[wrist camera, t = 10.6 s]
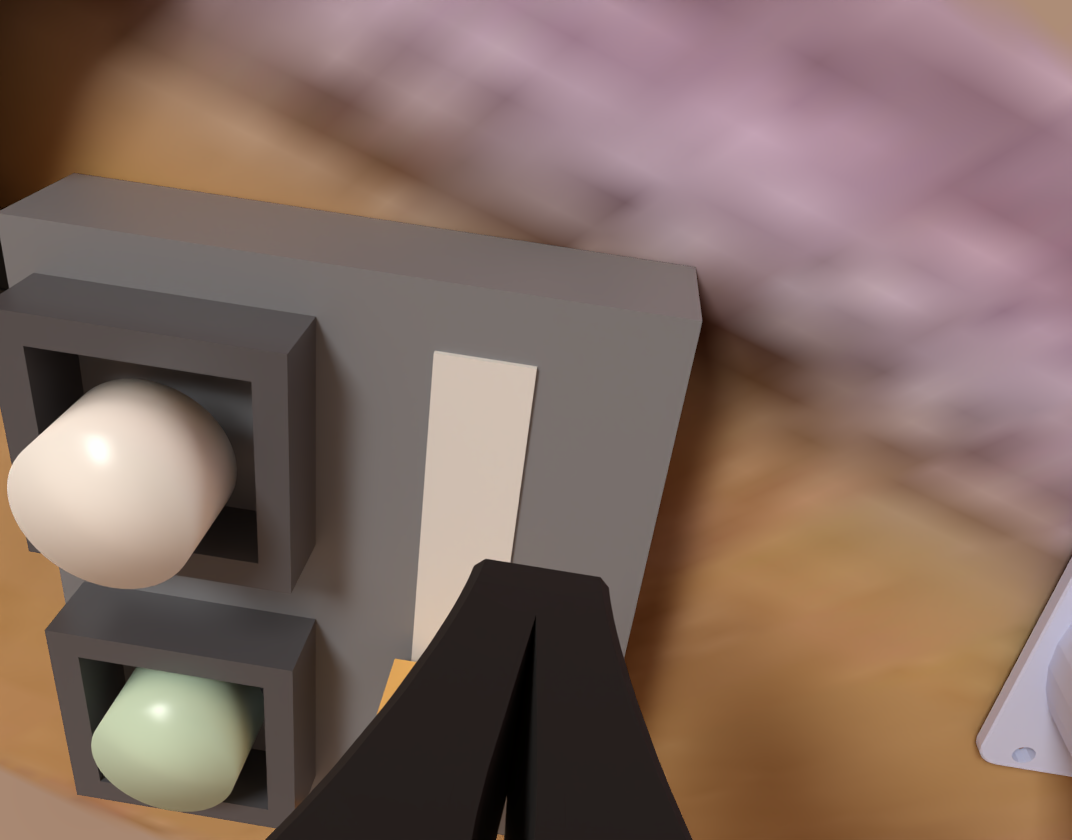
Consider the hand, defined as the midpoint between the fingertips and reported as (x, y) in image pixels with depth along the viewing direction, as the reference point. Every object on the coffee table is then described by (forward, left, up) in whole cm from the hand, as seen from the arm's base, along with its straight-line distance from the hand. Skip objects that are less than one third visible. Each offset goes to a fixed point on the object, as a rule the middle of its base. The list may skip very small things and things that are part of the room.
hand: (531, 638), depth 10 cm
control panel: (+4, +6, -9) cm, 12 cm away
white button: (+7, +3, -6) cm, 9 cm away
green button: (+7, +10, -6) cm, 13 cm away
